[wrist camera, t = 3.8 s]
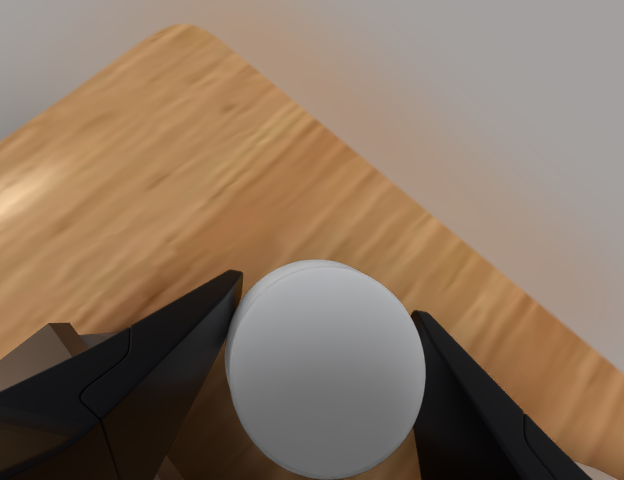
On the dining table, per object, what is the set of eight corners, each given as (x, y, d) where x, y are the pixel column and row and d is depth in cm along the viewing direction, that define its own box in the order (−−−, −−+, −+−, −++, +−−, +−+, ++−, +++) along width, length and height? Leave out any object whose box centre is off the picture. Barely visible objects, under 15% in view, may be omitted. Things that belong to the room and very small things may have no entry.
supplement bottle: (314, 263, 16) (342, 187, 7) (378, 341, 15) (516, 379, 6) (234, 327, 15) (133, 344, 6) (299, 415, 14) (310, 616, 5)
